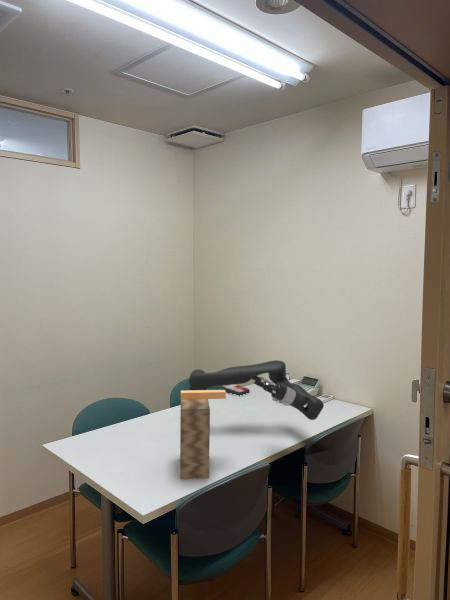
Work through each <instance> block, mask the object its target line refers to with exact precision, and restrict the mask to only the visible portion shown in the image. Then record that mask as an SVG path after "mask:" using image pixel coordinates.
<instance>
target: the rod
mask: <svg viewBox="0 0 450 600" xmlns="http://www.w3.org/2000/svg"><path fill="white" fill-rule="evenodd" d="M226 397H227V393H226V392H225V390H224V389H207V390H190V389H189V390H187V389H186V390H180V400H181V399H208V400H220V399H221V400H225V399H226Z"/></svg>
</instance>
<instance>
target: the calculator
mask: <svg viewBox="0 0 450 600" xmlns="http://www.w3.org/2000/svg"><path fill="white" fill-rule="evenodd" d="M223 390H225V392H226V394H230V393H232V394H231V395H233V394H236V395H239V396H238V397H241V396H240V395H242V396H244V395H243V394H245V395H247V394H246V393H249V394H250V392H251V391H250V389H249V388H248V387H245V386H242V385H240V384H234V385H224V387H223ZM236 395H235V396H236Z"/></svg>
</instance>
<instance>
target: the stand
mask: <svg viewBox="0 0 450 600" xmlns="http://www.w3.org/2000/svg"><path fill="white" fill-rule="evenodd" d="M209 403H210V402H209V399H181V398H180V423H179V424H180V426H179V427H180V430H179V431H180V436H179V438H180V439H179V441H180V442H179V444H180V445H179V448H180V449H179V450H180V451H179V463H180V464H179V468H180V470H179V475H180V480H190V479H191V480H192V479H193V478H196V479H210V444H211V443H210V439H211V438H210V437H211V436H210V435H211V434H210V433H211V432H210V431H211V426H210V425H211V424H210V420H211V408H210V407H211V406H210V404H209Z"/></svg>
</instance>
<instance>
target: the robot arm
mask: <svg viewBox="0 0 450 600" xmlns="http://www.w3.org/2000/svg"><path fill="white" fill-rule="evenodd" d="M263 374H268V379H269V380H268V379H265V378H264V377H263V376H259V375H263ZM251 380H253V381H254V385H256V386H258V387H260V388H261V389H262V390H263V391H266V392H267V393H269V394H271V398H273V399H276V400H277V401H279V402H281V403H283V404H286V405H288V406H290V407H293V408H294V409H296V410H298V411H299V412H300V413H301V414H303V415H304V416H305V418H307V419H308V420H310V421H314V420H316V419H317V418H318V417H319V416H320V414H321V412H322V410H323V409H324V406H325V405H324V402H323V400H321V399H320V398H318V397H316V396H314V395H312V394H310V393H308V391H307V390H305V389H304V388H303V386H302V385H299V384H297V383H292V382H291V381H290V380H289V379H288V378H287V366H286V364H285V361H282V360H279V359H278V360H271V361H264V362H261V363H256V364H248V365H238V366H231V367H227V368H226V367H225V368H224V369H221V370H218V371H214V372H205V371H204V370H202V369H200V368H199V369H195V370H193V371H192V372H191V373H190V375H189V378H188V383H189V384H188V385H189V390H208V388H212V387H221V386H229V385H234V384H235V385H241V384H246V383H248V382H250V381H251Z"/></svg>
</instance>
